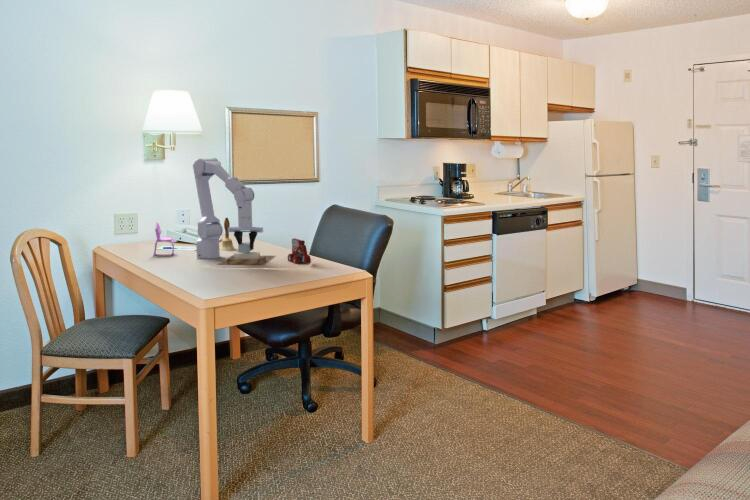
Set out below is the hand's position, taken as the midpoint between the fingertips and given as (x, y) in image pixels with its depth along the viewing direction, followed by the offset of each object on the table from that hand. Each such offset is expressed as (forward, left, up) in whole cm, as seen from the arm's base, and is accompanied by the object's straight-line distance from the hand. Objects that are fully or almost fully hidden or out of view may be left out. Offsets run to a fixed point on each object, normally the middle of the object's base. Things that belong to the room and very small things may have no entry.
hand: (246, 249), depth 247 cm
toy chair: (-44, +19, -7) cm, 48 cm away
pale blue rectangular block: (0, 0, -1) cm, 1 cm away
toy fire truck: (+22, +3, -7) cm, 23 cm away
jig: (-1, +5, -6) cm, 8 cm away
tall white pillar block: (0, 0, -6) cm, 6 cm away
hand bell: (-18, +31, -7) cm, 36 cm away
